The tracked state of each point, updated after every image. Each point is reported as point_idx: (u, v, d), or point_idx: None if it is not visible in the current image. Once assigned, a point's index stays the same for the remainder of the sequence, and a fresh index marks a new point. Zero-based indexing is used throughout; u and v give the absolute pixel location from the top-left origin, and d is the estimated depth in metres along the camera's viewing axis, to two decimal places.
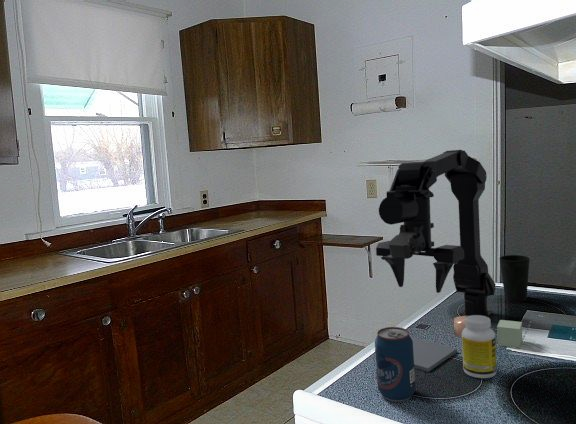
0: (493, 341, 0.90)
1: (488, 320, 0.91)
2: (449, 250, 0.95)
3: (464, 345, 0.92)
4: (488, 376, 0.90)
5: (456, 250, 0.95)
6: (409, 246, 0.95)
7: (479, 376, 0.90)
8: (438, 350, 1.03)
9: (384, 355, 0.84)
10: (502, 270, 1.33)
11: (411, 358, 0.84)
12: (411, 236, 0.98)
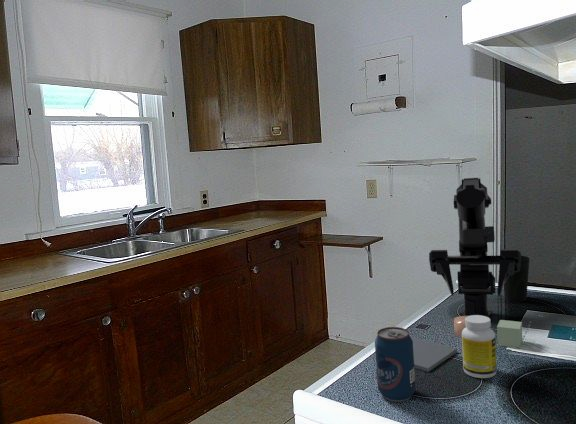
0: (493, 341, 0.90)
1: (488, 320, 0.91)
2: (516, 249, 1.00)
3: (464, 345, 0.92)
4: (488, 376, 0.90)
5: None
6: (486, 230, 0.98)
7: (479, 376, 0.90)
8: (438, 350, 1.03)
9: (384, 355, 0.84)
10: None
11: (411, 358, 0.84)
12: None
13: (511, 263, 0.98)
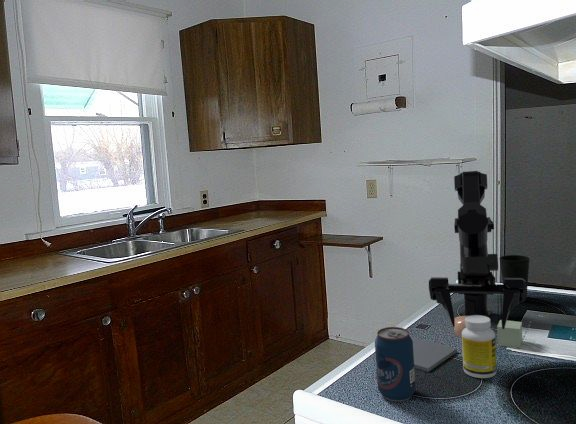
0: (493, 341, 0.90)
1: (488, 320, 0.91)
2: (521, 278, 0.94)
3: (464, 345, 0.92)
4: (488, 376, 0.90)
5: None
6: (490, 258, 0.93)
7: (479, 376, 0.90)
8: (438, 350, 1.03)
9: (384, 355, 0.84)
10: (502, 270, 1.33)
11: (411, 358, 0.84)
12: None
13: (516, 293, 0.93)
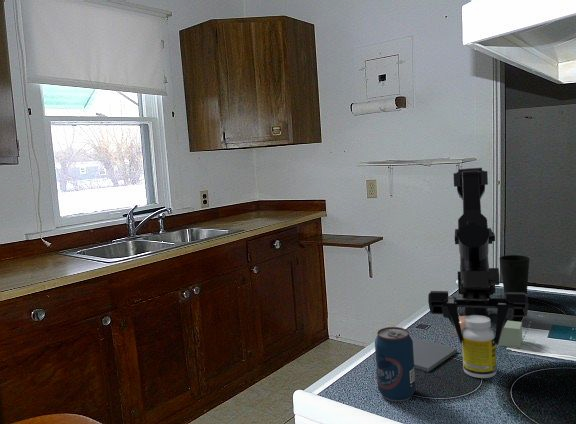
0: (493, 341, 0.90)
1: (488, 320, 0.91)
2: (523, 293, 0.92)
3: (464, 345, 0.92)
4: (488, 376, 0.90)
5: None
6: (491, 273, 0.90)
7: (479, 376, 0.90)
8: (438, 350, 1.03)
9: (384, 355, 0.84)
10: (502, 270, 1.33)
11: (411, 358, 0.84)
12: None
13: (510, 308, 0.91)
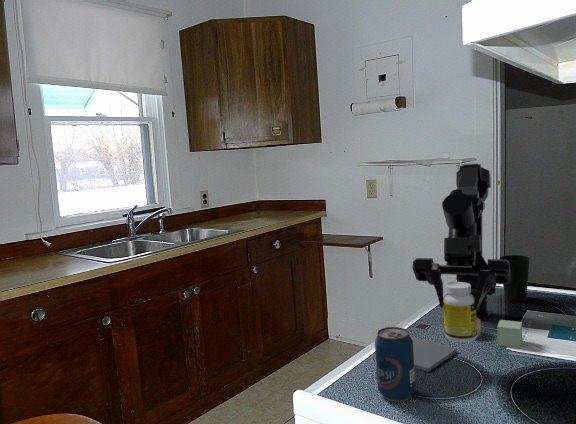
0: (472, 306, 0.91)
1: (468, 286, 0.92)
2: (505, 260, 0.92)
3: (444, 310, 0.94)
4: (467, 340, 0.92)
5: None
6: (471, 239, 0.92)
7: (458, 340, 0.92)
8: (438, 350, 1.03)
9: (384, 355, 0.84)
10: None
11: (411, 358, 0.84)
12: None
13: (491, 275, 0.92)
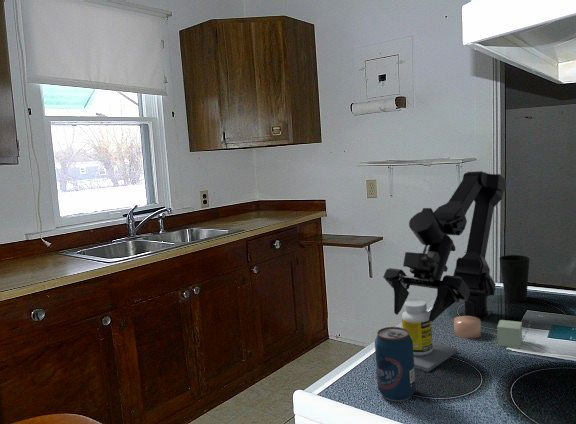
0: (423, 324, 1.00)
1: (421, 305, 1.00)
2: (459, 277, 0.98)
3: (402, 324, 1.03)
4: (418, 354, 1.00)
5: (465, 282, 0.98)
6: (425, 255, 0.99)
7: None
8: (438, 350, 1.03)
9: (384, 354, 0.84)
10: (502, 270, 1.33)
11: (411, 358, 0.85)
12: None
13: (448, 290, 0.98)
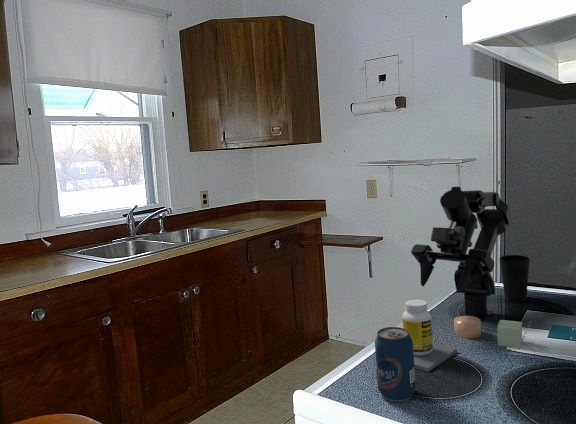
0: (424, 323, 1.00)
1: (422, 304, 1.00)
2: (484, 250, 1.05)
3: None
4: (418, 354, 1.00)
5: (489, 255, 1.05)
6: (452, 229, 1.06)
7: None
8: (438, 350, 1.03)
9: (384, 355, 0.84)
10: (502, 270, 1.33)
11: (411, 358, 0.84)
12: None
13: (475, 262, 1.04)
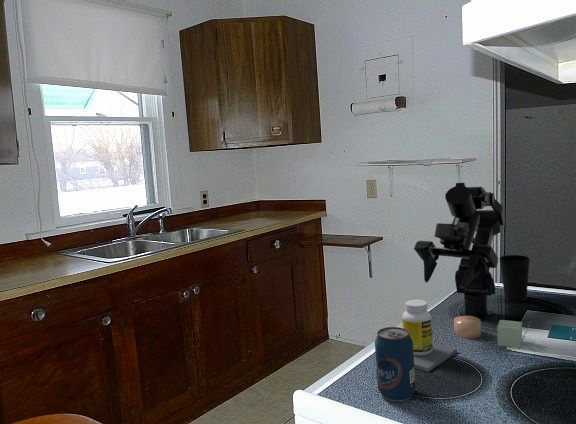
0: (424, 323, 1.00)
1: (422, 304, 1.00)
2: (488, 245, 1.05)
3: None
4: (418, 354, 1.00)
5: (493, 251, 1.05)
6: (457, 225, 1.06)
7: None
8: (438, 350, 1.03)
9: (384, 355, 0.84)
10: (502, 270, 1.33)
11: (411, 358, 0.84)
12: None
13: (479, 258, 1.04)
